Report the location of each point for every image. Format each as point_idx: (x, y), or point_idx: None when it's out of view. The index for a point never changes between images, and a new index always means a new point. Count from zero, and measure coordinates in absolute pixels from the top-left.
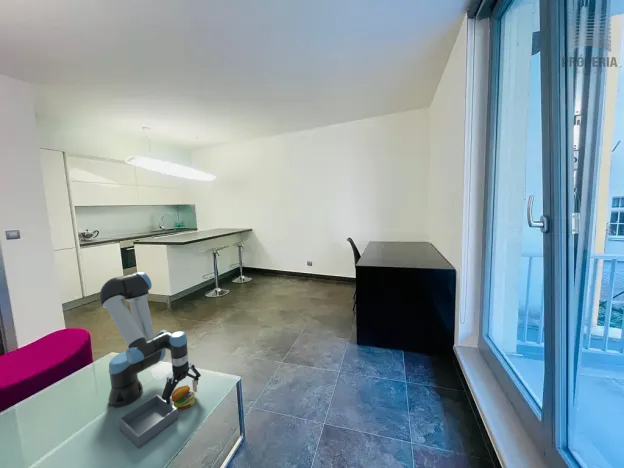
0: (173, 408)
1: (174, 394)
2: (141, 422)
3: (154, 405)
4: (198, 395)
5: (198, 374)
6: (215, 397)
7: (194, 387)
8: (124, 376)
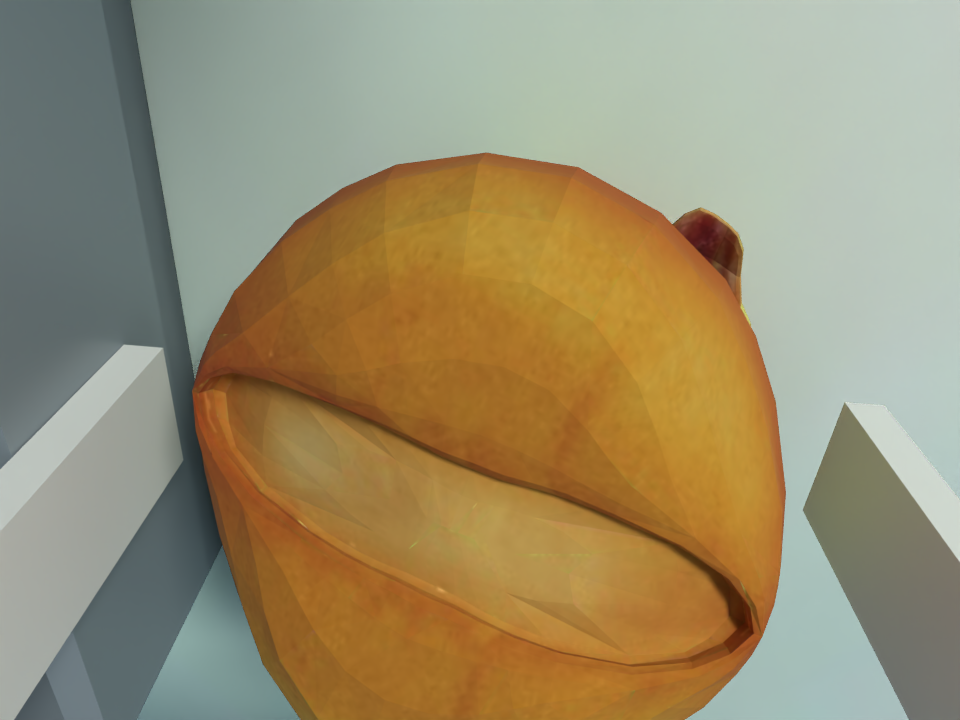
0: (65, 695)
1: (286, 429)
2: None
3: None
4: (810, 446)
5: None
6: (849, 692)
7: (872, 564)
8: None
